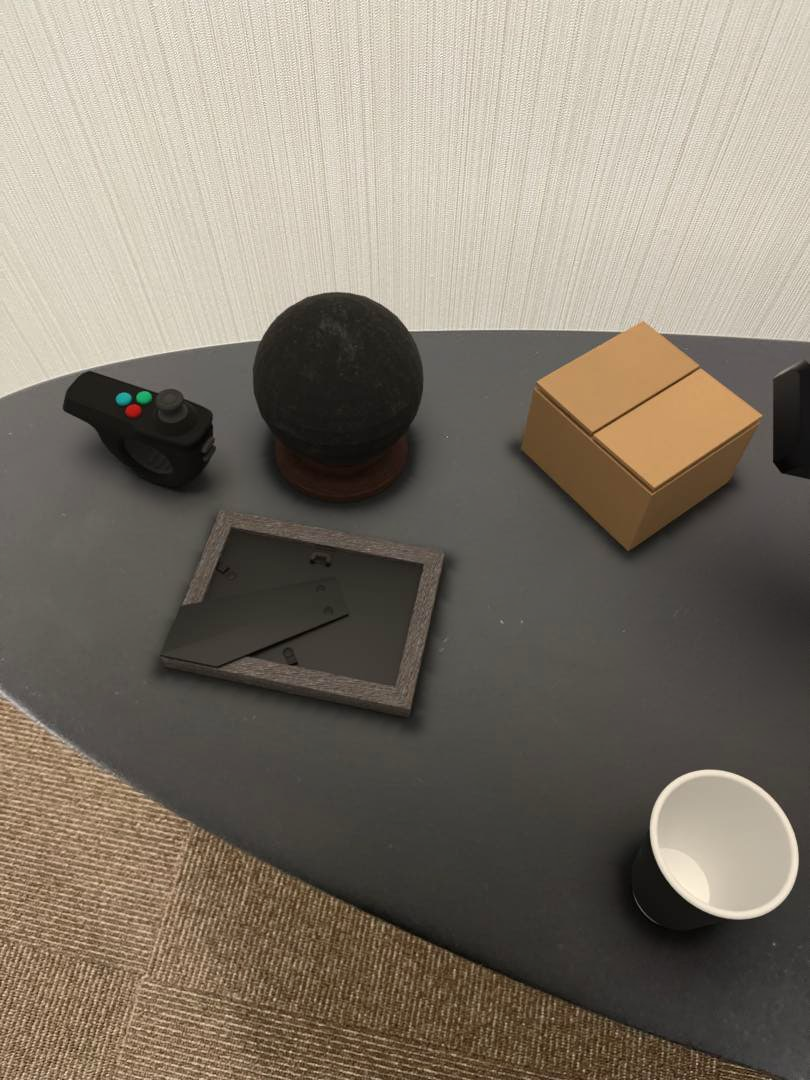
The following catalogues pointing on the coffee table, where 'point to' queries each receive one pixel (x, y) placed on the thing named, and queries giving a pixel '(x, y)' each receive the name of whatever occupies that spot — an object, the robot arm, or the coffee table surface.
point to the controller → (145, 427)
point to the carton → (597, 401)
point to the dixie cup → (714, 853)
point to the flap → (676, 428)
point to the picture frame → (308, 612)
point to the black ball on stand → (338, 394)
